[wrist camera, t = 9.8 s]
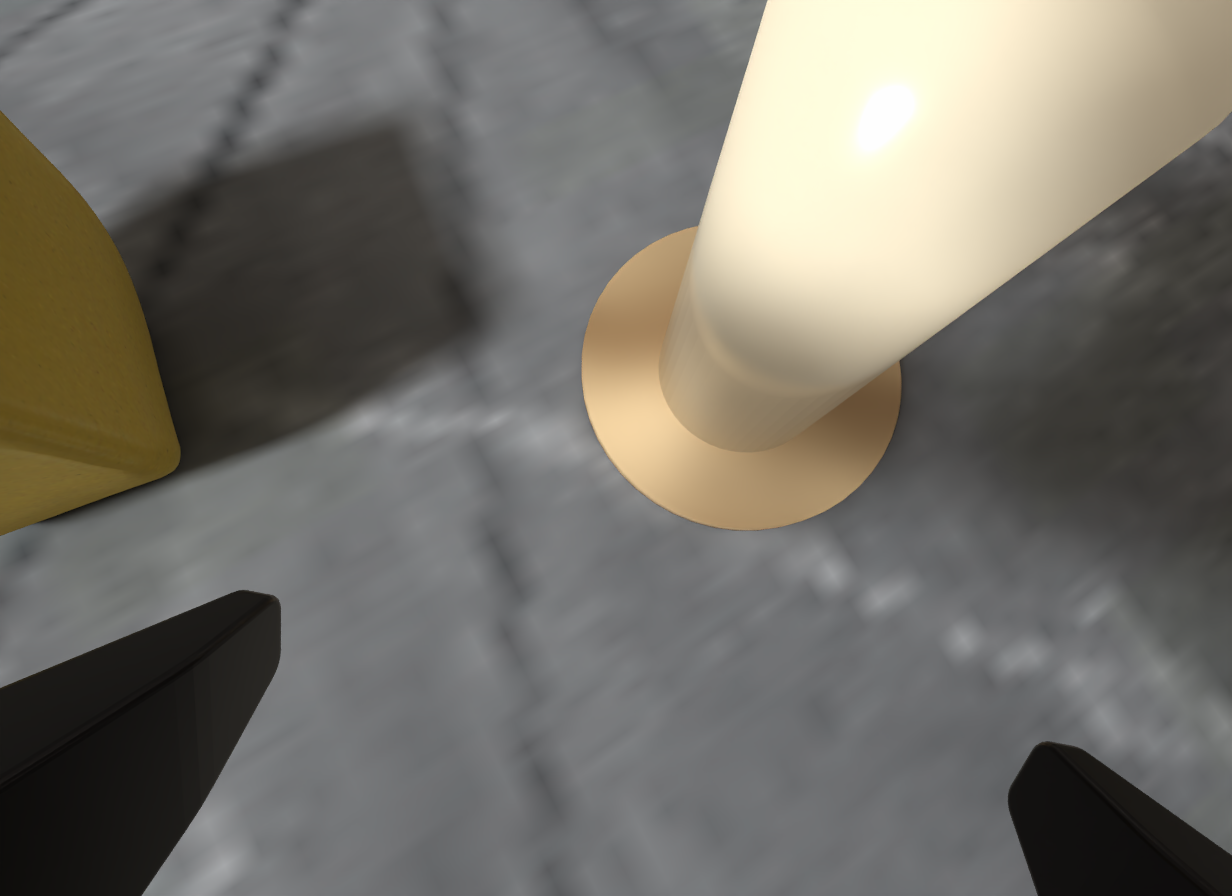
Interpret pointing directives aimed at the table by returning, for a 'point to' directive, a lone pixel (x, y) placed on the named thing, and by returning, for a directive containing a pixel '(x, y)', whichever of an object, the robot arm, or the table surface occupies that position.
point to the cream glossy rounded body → (914, 182)
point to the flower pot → (69, 352)
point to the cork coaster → (684, 464)
